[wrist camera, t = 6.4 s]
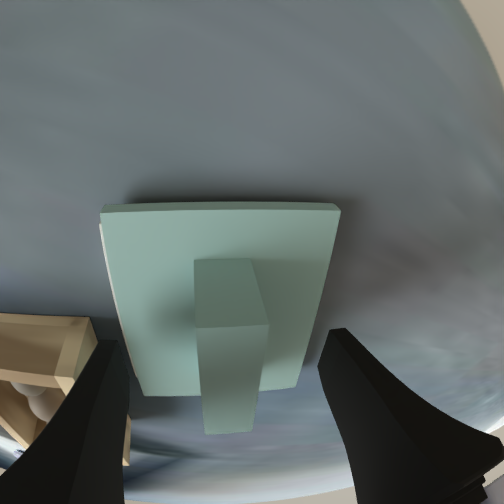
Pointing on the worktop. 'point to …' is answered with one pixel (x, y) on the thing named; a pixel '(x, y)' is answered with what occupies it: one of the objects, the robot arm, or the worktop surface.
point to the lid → (219, 297)
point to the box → (41, 370)
